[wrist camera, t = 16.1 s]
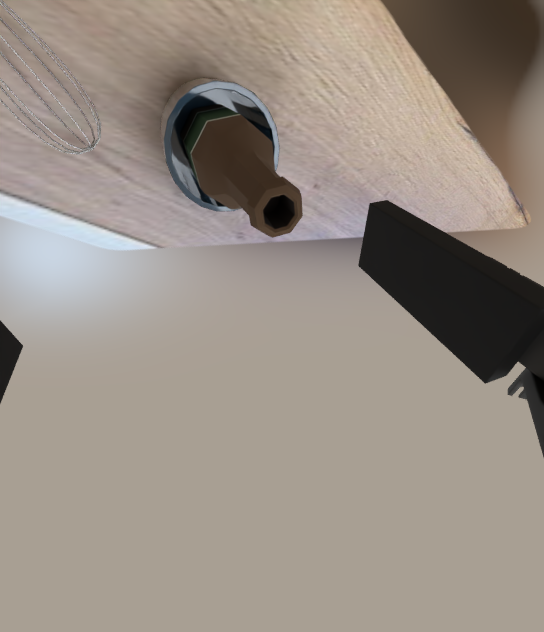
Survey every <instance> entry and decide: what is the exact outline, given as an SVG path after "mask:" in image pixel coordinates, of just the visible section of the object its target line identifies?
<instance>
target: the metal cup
mask: <svg viewBox="0 0 544 632" xmlns="http://www.w3.org/2000/svg"><path fill="white" fill-rule="evenodd" d="M215 104H221V105H223V106H225V107H227V108H229V109H231V110H233V111H235V112H237V113H239V114H241V115H242V116H243V117H244V118H245V119H247V120H248V121H249V122H250V123H251V124H252V125H254V126H255V127H256V128H257V129H258V130H259V131H261V132H262V133H263V134H264V135H265V136H266V137H267V138H269V139H270V140H271V141H272V146H273V155H274V164H275V171H276V169H277V166H278V157H279V140H278V134H277V128H276V125H275V123H274V121H273V119H272V117H271V114H270V112H269V110H268V109H267V107H266V106H265V105H264V104H263V103H262V101H261V100H260V99H259V98H258V97H257V96H256V95H255V94H254V93H253V92H252V91H250V90H248V89H246V88H244V87H242V86H241V85H239V84H237V83H234V82H229V81H224V80H219V79H211V78H199V79H195V80H192V81H189V82H186V83H185V84H183V85H182V86H180V87H179V88H178V89H177V90H176V91H175V92H174V93H173V94H172V95H171V97H170V98H169V100H168V101H167V103H166V106H165V108H164V110H163V114H162V119H161V126H160V132H161V141H162V148H163V152H164V156H165V160H166V163H167V166H168V168H169V170H170V173H171V175H172V177H173V180H174V182H175V183H176V184H177V186H178V187H179V188H180V189H181V190H182V192H183V193H184V194H185V195H186V196H187V197H188V198H189V199H191V200H192V201H194V202H195V203H197V204H198V205H200V206H201V207H204V208H208V209H211V210H214V211H235V210H238V209H229V208H228V207H226V206H224V205H223V204H221V203H220V202H218V201H216V200H215V199H213V198H211V197H210V196H208V195H206V194H205V193H204V192H203V191H202V189H201V188H200V186H199V184H198V182H197V180H196V178H195V176H194V174H193V171H192V169H191V167H190V165H189V162H188V158H187V155H186V151H185V148H184V145H183V141H182V138H181V132H182V130H183V128H184V126H185V124H186V122H187V120H188V117H189V115H190V113H191V111H192V109H196V108H201V107H206V106H211V105H215ZM239 209H241V208H239Z"/></svg>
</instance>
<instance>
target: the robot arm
mask: <svg viewBox="0 0 544 632" xmlns="http://www.w3.org/2000/svg"><path fill="white" fill-rule="evenodd" d="M359 267H361V269H363V271H365V272H366V273H367V274H368V275H369V276H370V277H371V278H372V279H373V280H374V281H375V282H376V283H378V284H379V285H380V286H381V287H382V288H383V289H384V290H385V291H386V292H387V293H388V294H389V295H391V296H392V297H393V298H394V299H395V300H396V301H397V302H398V303H399V304H400V305H401V306H402V307H404V308H405V309H406V310H407V311H408V312H409V313H410V314H411V315H412V316H413V317H414V318H415V319H416V320H417V321H418V322H420V323H421V324H422V325H423V326H424V327H425V328H426V329H427V330H428V331H429V332H431V334H432V335H434V336H435V337H436V338H437V339H438V340H439V341H440V342H441V343H442V344H443V345H445V347H447V348H448V349H449V350H450V351H451V352H452V353H453V354H454V355H455V356H456V357H457V358H458V359H460V360H461V361H462V362H463V363H464V364H465V365H466V366H467V367H468V368H469V369H470V370H471V371H472V372H473V373H475V374H476V375H477V376H478V377H479V378H480V379H481V380H482V381H483V382H484V383H488V382H490V381H493V380H496V379H498V378H501V377H504V376H506V375H507V374H508V373H509V372H510V370H511V369H512V368H513V367H514V365H515V364H516V363H517V362H520V363H521V364H522V365H524V366H525V367H526V368H525V370H524V371H523V372H522V373H521V374H520V375H519V377H518V378H517V379H516V380H515V381H514V382H513V383H512V385H511V386H510V387H509V388H508V395H511V396H512V395H513V394H514V393H515V392H516V391H517V390H518V389H519V388H520V387H524V390H523V391H522V392H521V393H520V395H519V398H523V399H527V401H528V404H529V408H530V411H531V414H532V418H533V422H534V425H535V429H536V432H537V435H538V439H539V443H540V446H541V449H542V453H543V457H544V287H543V286H541V285H540V284H538V283H536V282H534V281H532V280H531V279H529V278H527V277H525V276H522V275H520V273H518V272H516V271H514V270H513V269H511V268H510V269H509V268H507V266H505V265H504V264H502V263H500V262H498V261H496V260H495V259H493V258H490V257H488V256H485V255H484V254H482V253H480V252H478V251H477V250H475V249H473V248H471V247H470V246H468V245H466V244H464V243H463V242H461V241H459V240H457V239H456V238H454V237H452V236H450V235H448V234H447V233H445V232H443V231H441V230H439V229H438V228H436V227H434V226H432V225H431V224H429V223H427V222H425V221H423V220H422V219H420V218H418V217H416V216H414V215H413V214H411V213H409V212H407V211H405V210H404V209H402V208H400V207H398V206H397V205H395V204H393V203H391V202H389V201H388V200H385V201H380V202H375V203H370V205H369V210H368V216H367V221H366V227H365V232H364V238H363V244H362V249H361V254H360V260H359ZM22 348H23V345H22V344H21V343H20V342H19V341H18V340H17V339H16V338H15V336H14V335H13V334H12V333H11V332H10V331H9V330H8V329H7V328H6V326H5V325H4V324H3V323H2V322H1V321H0V403H1V400H2V398H3V395H4V393H5V390H6V388H7V385H8V383H9V380H10V378H11V375H12V373H13V370H14V367H15V365H16V362H17V360H18V358H19V355H20V353H21V350H22Z"/></svg>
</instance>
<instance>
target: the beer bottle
mask: <svg viewBox="0 0 544 632" xmlns="http://www.w3.org/2000/svg"><path fill="white" fill-rule="evenodd" d="M181 138H182V141H183V145H184V148H185V151H186V155H187V158H188V162H189V165H190V167H191V169H192V171H193V174H194V176H195V178H196V180H197V182H198V184H199V186H200V188H201V189H202V191H203V192H204V193H205V194H206V195H208V196H210V197H211V198H213V199H215V200H216V201H218V202H220V203H221V204H223V205H224V206H226V207H228V208H229V209H239V208H243V210H244V211H245V212H246V213H247V214H248V215H249V218H250V223H251V226H253V227H255V228H256V229H258V230H260V231H261V232H263V233H265V234H266V235H268V236H270V237H276V236H280V235H283V234H287V233H290V232H291V231H292V230H293V229H294V227H295V226H296V224H297V223H298V222H299V220H300V219H301V217H302V198H301V193H300V190H299V189H298V188H296V187H295V186H294V185H293V184H291V183H290V182H289V181H288V180H286V179H285V178H284V177H279V175H278V174H277V173H276V172H275V164H274V155H273V146H272V141H271V140H270V139H269V138H267V137H266V136H265V135H264V134H263V133H262V132H261V131H259V130H258V129H257V128H256V127H255V126H254V125H252V124H251V123H250V122H249V121H248V120H247V119H245V118H244V117H243V116H242V115H241V114H239V113H237V112H235V111H233V110H231V109H229V108H227V107H225V106H223V105H221V104H215V105H211V106H206V107H201V108H196V109H192V111H191V113H190V115H189V117H188V120H187V122H186V124H185V126H184V128H183V130H182V132H181Z"/></svg>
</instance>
